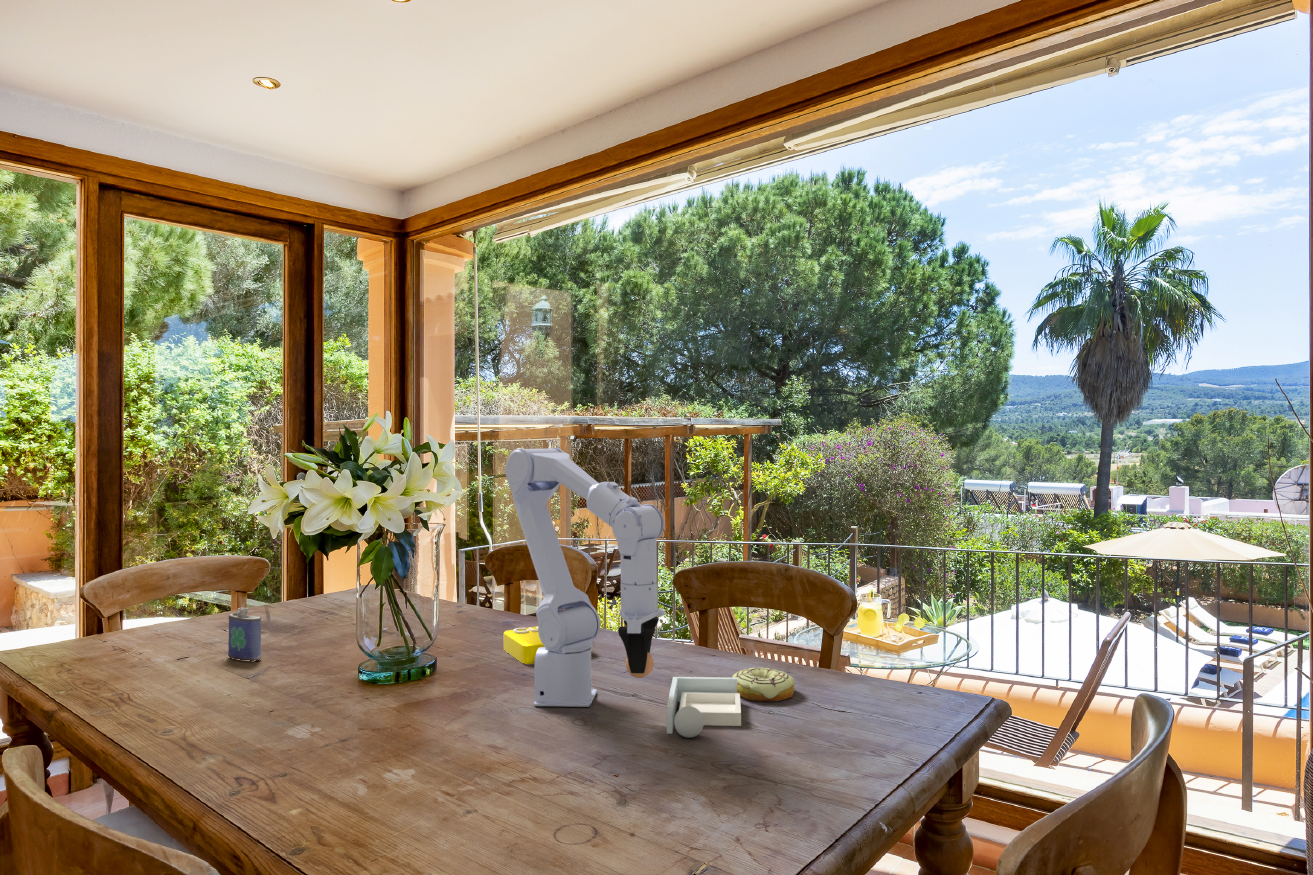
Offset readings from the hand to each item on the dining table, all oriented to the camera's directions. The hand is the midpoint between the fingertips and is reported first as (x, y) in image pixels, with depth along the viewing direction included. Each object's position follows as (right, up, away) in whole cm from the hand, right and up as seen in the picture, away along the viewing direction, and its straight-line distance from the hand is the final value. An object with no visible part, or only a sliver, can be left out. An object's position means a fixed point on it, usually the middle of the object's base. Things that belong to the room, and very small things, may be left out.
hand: (639, 667), depth 123 cm
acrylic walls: (+10, -8, +1) cm, 13 cm away
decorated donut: (+21, -8, +12) cm, 26 cm away
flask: (-83, -10, +38) cm, 92 cm away
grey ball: (+8, -8, -7) cm, 13 cm away
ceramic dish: (+11, -8, +2) cm, 14 cm away
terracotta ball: (0, -2, 0) cm, 2 cm away
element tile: (-20, -9, +41) cm, 47 cm away
